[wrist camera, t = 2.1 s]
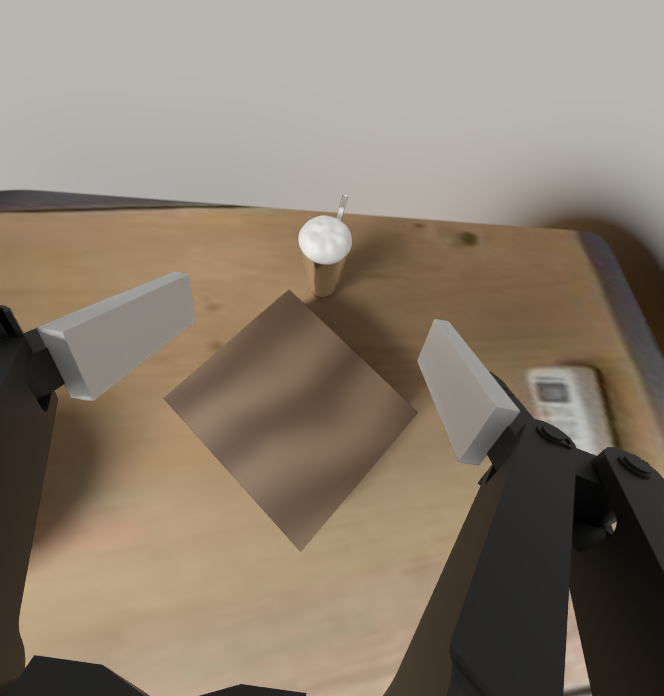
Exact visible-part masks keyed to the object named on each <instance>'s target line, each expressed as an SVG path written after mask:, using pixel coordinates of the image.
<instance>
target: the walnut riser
mask: <svg viewBox="0 0 664 696" xmlns="http://www.w3.org/2000/svg"><path fill="white" fill-rule="evenodd" d="M163 399H164V400H165V401H166V402H167V403H168V404H169V405H170V406H171V408H172V409H173V410H174V411H175V412H176V413H177V414H178V415H179V417H180V418H181V419H182V420H183V421H184V422H185V423H186V424H187V426H188V427H189V428H190V429H191V430H192V431H193V432H194V433H195V434H196V436H197V437H198V438H199V439H200V440H201V441H202V442H203V443H204V445H205V446H206V447H207V448H208V449H209V450H210V451H211V452H212V453H213V455H214V456H215V457H216V458H217V459H218V460H219V461H220V462H221V464H222V465H223V466H224V467H225V468H226V469H227V470H228V471H229V472H230V474H231V475H232V476H233V477H234V478H235V479H236V480H237V481H238V483H239V484H240V485H241V486H242V487H243V488H244V489H245V490H246V491H247V493H248V494H249V495H250V496H251V497H252V498H253V499H254V500H255V502H256V503H257V504H258V505H259V506H260V507H261V508H262V509H263V510H264V512H265V513H266V514H267V515H268V516H269V517H270V518H271V519H272V521H273V522H274V523H275V524H276V525H277V526H278V527H279V528H280V529H281V531H282V532H283V533H284V534H285V535H286V536H287V537H288V538H289V540H290V541H291V542H292V543H293V544H294V545H295V546H296V547H297V548H298V550H299V551H300V552H301V551H302V550H303V549H304V548H305V547H306V545H307V544H308V543H309V542H310V541H311V539H312V538H313V537H314V536H315V535H316V533H317V532H318V531H319V530H320V529H321V527H322V526H323V525H324V524H325V523H326V521H327V520H328V519H329V518H330V517H331V516H332V514H333V513H334V512H335V511H336V510H337V508H338V507H339V506H340V505H341V504H342V502H343V501H344V500H345V499H346V498H347V496H348V495H349V494H350V493H351V492H352V490H353V489H354V488H355V487H356V486H357V485H358V483H359V482H360V481H361V480H362V479H363V477H364V476H365V475H366V474H367V473H368V471H369V470H370V469H371V468H372V467H373V465H374V464H375V463H376V462H377V461H378V459H379V458H380V457H381V456H382V455H383V453H384V452H385V451H386V450H387V449H388V448H389V446H390V445H391V444H392V443H393V442H394V440H395V439H396V438H397V437H398V436H399V434H400V433H401V432H402V431H403V430H404V428H405V427H406V426H407V425H408V424H409V422H410V421H411V420H412V419H413V418H414V417H415V415H416V414H417V413H418V412H417V411H416V410H415V409H414V408H413V407H412V406H411V405H410V404H409V403H408V402H407V401H406V400H405V399H404V398H403V397H402V396H401V395H400V394H398V393H397V392H396V391H395V390H394V389H393V388H392V387H391V386H390V385H389V384H388V383H387V382H386V381H385V380H384V379H383V378H382V377H381V376H380V375H379V374H377V373H376V372H375V371H374V370H373V369H372V368H371V367H370V366H369V365H368V364H367V363H366V362H365V361H364V360H363V359H362V358H361V357H360V356H359V355H357V354H356V353H355V352H354V351H353V350H352V349H351V348H350V347H349V346H348V345H347V344H346V343H345V342H344V341H343V340H342V339H341V338H340V337H339V336H338V335H336V334H335V333H334V332H333V331H332V330H331V329H330V328H329V327H328V326H327V325H326V324H325V323H324V322H323V321H322V320H321V319H320V318H319V317H318V316H316V315H315V314H314V313H313V312H312V311H311V310H310V309H309V308H308V307H307V306H306V305H305V304H304V303H303V302H302V301H301V300H300V299H299V298H298V297H297V296H295V295H294V294H293V293H292V292H291V291H290V290H288V291H286V292H285V293H284V294H283V295H282V296H281V297H280V298H278V299H277V300H276V301H275V302H274V303H273V304H271V305H270V306H269V307H268V308H267V309H266V310H265V311H263V312H262V313H261V314H260V315H259V316H258V317H256V318H255V319H254V320H253V321H252V322H251V323H250V324H248V325H247V326H246V327H245V328H244V329H243V330H241V331H240V332H239V333H238V334H237V335H236V336H235V337H233V338H232V339H231V340H230V341H229V342H228V343H227V344H225V345H224V346H223V347H222V348H221V349H220V350H218V351H217V352H216V353H215V354H214V355H213V356H212V357H210V358H209V359H208V360H207V361H206V362H205V363H203V364H202V365H201V366H200V367H199V368H198V369H197V370H195V371H194V372H193V373H192V374H191V375H190V376H188V377H187V378H186V379H185V380H184V381H183V382H182V383H180V384H179V385H178V386H177V387H176V388H175V389H174V390H172V391H171V392H170V393H169V394H168V395H167V396H165V397H164V398H163Z"/></svg>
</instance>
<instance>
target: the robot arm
mask: <svg viewBox="0 0 664 696" xmlns="http://www.w3.org/2000/svg"><path fill="white" fill-rule="evenodd" d="M194 322H195V317H194V309H193V301H192V294H191V286H190V278H189V274H185V273H180V272H172V273H169V274H167V275H164V276H162V277H159V278H157V279H154V280H152V281H150V282H147V283H145V284H142V285H140V286H137V287H135V288H132V289H130V290H127V291H125V292H122V293H120V294H117V295H115V296H112V297H110V298H107V299H105V300H102V301H100V302H98V303H95V304H93V305H90V306H88V307H85V308H83V309H80V310H78V311H75V312H73V313H70V314H68V315H65V316H63V317H60V318H58V319H55V320H53V321H50V322H48V323H46V324H43V325H41V326H38V327H36V329H33V330H31V331H28V332H26V333H23V332H22V330H21V328H20V326H19V324H18V322H17V320H16V318H15V317H14V315H13V313H12V311H11V309H10V308H8V307H6V306H2V305H0V696H149V695H148V694H147V693H145V692H144V691H142V690H141V689H139V688H138V687H136V686H135V685H133V684H132V683H130V682H128V681H127V680H125V679H124V678H122V677H121V676H119V675H118V674H116V673H114V672H113V671H111V670H110V669H108V668H107V667H105V666H104V665H100V664H93V663H86V662H79V661H72V660H65V659H57V658H50V657H43V656H36V655H34V657H33V658H32V659H31V661H30V662H29V664H28V665H27V667H26V668H25V651H24V645H23V642H22V639H21V636H20V632H19V614H20V608H21V603H22V597H23V592H24V586H25V580H26V575H27V569H28V564H29V558H30V553H31V547H32V541H33V536H34V530H35V525H36V519H37V514H38V508H39V502H40V497H41V491H42V486H43V480H44V475H45V469H46V463H47V458H48V452H49V447H50V441H51V436H52V430H53V424H54V419H55V413H56V408H57V402H58V398H57V395H56V393H55V391H54V390H56V389H57V388H59V387H60V386H62V385H64V384H65V386H66V388H67V390H68V392H69V394H70V396H71V398H77V399H83V400H89V401H94V400H95V399H97V398H98V397H99V396H100V395H102V394H103V393H104V392H106V391H107V390H108V389H109V388H111V387H112V386H113V385H115V384H116V383H117V382H118V381H120V380H121V379H122V378H124V377H125V376H126V375H127V374H129V373H130V372H131V371H133V370H134V369H135V368H136V367H138V366H139V365H140V364H142V363H143V362H144V361H145V360H147V359H148V358H149V357H151V356H152V355H153V354H154V353H156V352H157V351H158V350H160V349H161V348H162V347H163V346H165V345H166V344H167V343H169V342H170V341H171V340H172V339H174V338H175V337H176V336H177V335H179V334H180V333H181V332H183V331H184V330H185V329H186V328H188V327H189V326H190V325H192V324H193V323H194ZM417 362H418V364H419V367H420V369H421V372H422V374H423V376H424V379H425V381H426V384H427V386H428V389H429V391H430V394H431V396H432V398H433V401H434V403H435V406H436V408H437V411H438V413H439V416H440V418H441V421H442V423H443V425H444V428H445V430H446V433H447V435H448V438H449V440H450V443H451V445H452V448H453V450H454V452H455V455H456V457H457V460H458V462H461V463H467V464H473V465H480V463H481V462H482V461H483V459H484V458H485V457H486V455H488V457H489V459H490V461H491V462H492V466H491V467H490V468H489V469H488V471H487V472H486V473H485V474H484V476H483V477H482V478H481V479H480V481H479V482H478V484H479V485H481V486H480V488H479V491H478V493H477V495H476V497H475V500H474V502H473V504H472V506H471V509H470V511H469V513H468V515H467V518H466V520H465V522H464V524H463V526H462V529H461V531H460V533H459V535H458V538H457V540H456V542H455V544H454V547H453V549H452V551H451V553H450V556H449V558H448V560H447V562H446V565H445V567H444V569H443V571H442V573H441V576H440V578H439V580H438V582H437V585H436V587H435V589H434V591H433V594H432V596H431V598H430V600H429V603H428V605H427V607H426V609H425V611H424V614H423V616H422V618H421V620H420V623H419V625H418V627H417V629H416V632H415V634H414V636H413V638H412V641H411V643H410V645H409V647H408V650H407V652H406V654H405V656H404V658H403V661H402V663H401V665H400V667H399V670H398V672H397V674H396V676H395V678H394V679H393V681H392V683H391V685H390V686H389V688H388V689H387V691H386V692H385V694H384V695H383V696H563V689H564V671H565V653H566V635H567V617H568V599H569V588H570V593H571V598H572V602H573V607H574V612H575V616H576V621H577V626H578V630H579V635H580V640H581V644H582V649H583V654H584V659H585V663H586V668H587V673H588V677H589V682H590V687H591V691H592V696H664V479H663V478H662V476H661V475H660V474H659V473H658V472H657V471H656V470H655V469H653V468H652V467H651V466H650V465H649V464H648V463H647V462H645V461H644V460H641V458H639V457H637V456H636V455H633V454H630V453H628V452H626V451H624V450H621V449H618V448H615V447H607V448H606V449H604V450H603V451H602V452H601V453H600V454H599V455H598V456H595V455H593V454H590V453H588V452H585V451H582V450H580V449H577V448H576V446H575V444H574V443H573V441H572V440H571V439H570V438H569V437H568V436H567V435H566V434H565V433H563V432H562V431H561V430H559V429H558V428H556V427H554V426H553V425H551V424H548V423H546V422H544V421H540V420H536V419H534V418H533V417H532V416H531V414H530V413H529V412H528V411H527V410H526V408H525V407H524V406H523V405H522V404H521V402H520V401H519V400H518V399H517V398H516V397H515V395H514V394H513V393H512V392H511V390H509V388H508V387H507V386H506V384H505V383H504V382H503V381H502V380H501V379H500V378H498V377H497V376H496V375H494V374H493V373H492V372H489V371H488V370H487V369H486V368H485V366H484V365H483V364H482V363H481V361H480V360H479V359H478V358H477V356H476V355H475V354H474V353H473V351H472V350H471V349H470V348H469V346H468V345H467V344H466V343H465V341H464V340H463V339H462V338H461V336H460V335H459V334H458V333H457V331H456V330H455V329H454V328H453V326H452V325H451V324H450V323H449V321H444V320H439V319H434V321H433V324H432V326H431V329H430V331H429V334H428V336H427V338H426V341H425V343H424V346H423V348H422V351H421V353H420V355H419V358H418V360H417ZM616 521H617V524H616V528H615V531H613V529H612V526H611V525H612V524H613V523H615V522H616ZM200 696H306V693H301V692H294V691H287V690H279V689H272V688H265V687H258V686H251V685H244V684H240V685H236V686H233V687H229V688H226V689H222V690H218V691H215V692H211V693H208V694H204V695H200Z"/></svg>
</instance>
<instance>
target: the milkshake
mask: <svg viewBox="0 0 664 696" xmlns="http://www.w3.org/2000/svg"><path fill="white" fill-rule="evenodd" d="M346 202H347V197H346V196H345V195H343V196H342V199H341V203H340V207H339V210H338V213H337V217H336V218H333V217H330V216H319V217H315V218H313V219H311V220H309V221H308V222H307V223H306V224H305V225H304V226H303V227H302V229H301V230H300V233H299V245H300V249H301V253H302V257H303V261H304V265H305V269H306V274H307V279H308V284H309V289H310V290H311V291H312V292H313V293H314V294H315V295H316V296H321V297H326V296H329V295H331V294H332V293H333V292H334V290H335V289H336V287H337V284H338V281H339V278H340V275H341V272H342V269H343V266H344V264H345V261H346V259H347V256H348V254H349V251H350V249H351V246H352V238H351V233H350V230H349V229H348V227H347V226H346V225H345V224H344V223H343V222H341V219H342V215H343V212H344V209H345V205H346Z"/></svg>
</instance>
